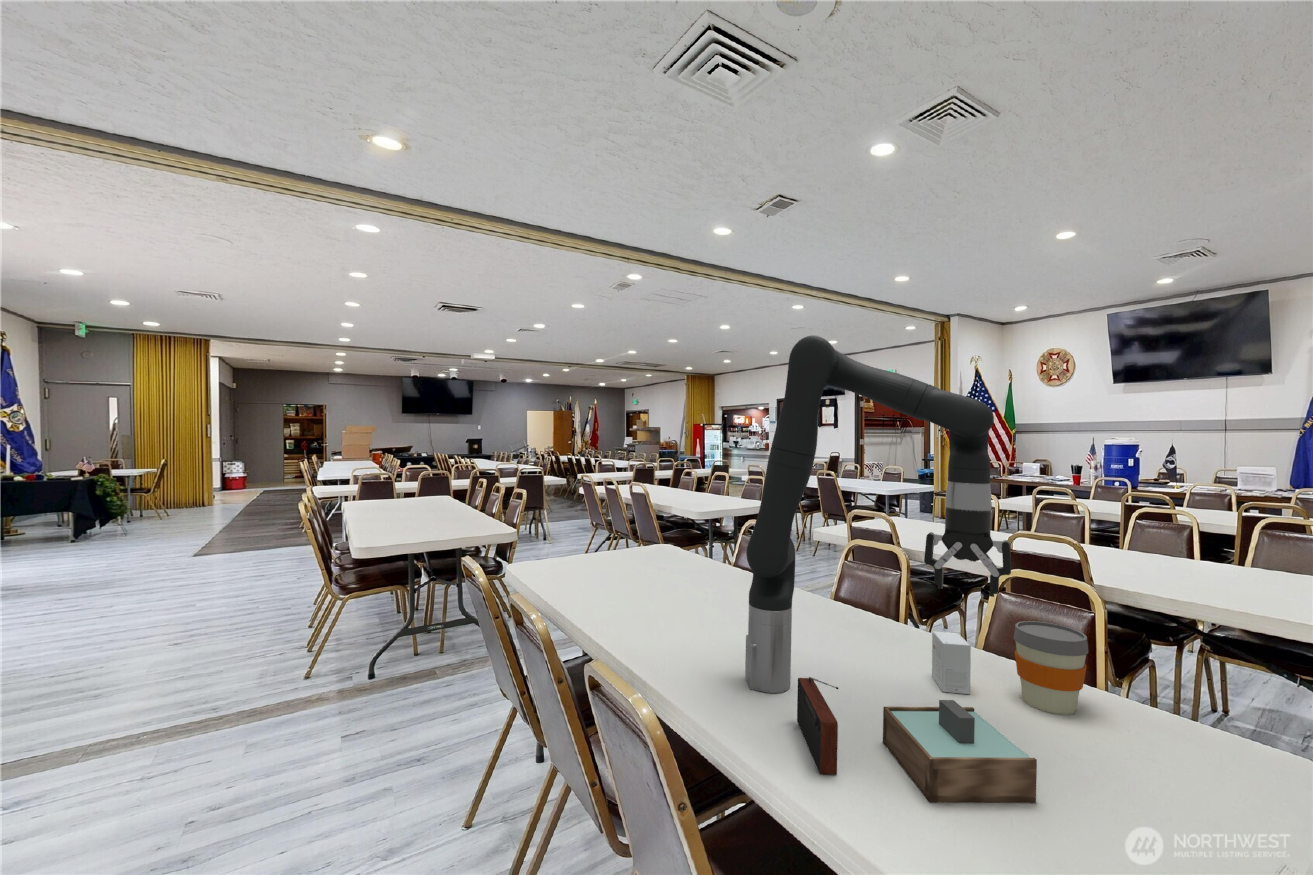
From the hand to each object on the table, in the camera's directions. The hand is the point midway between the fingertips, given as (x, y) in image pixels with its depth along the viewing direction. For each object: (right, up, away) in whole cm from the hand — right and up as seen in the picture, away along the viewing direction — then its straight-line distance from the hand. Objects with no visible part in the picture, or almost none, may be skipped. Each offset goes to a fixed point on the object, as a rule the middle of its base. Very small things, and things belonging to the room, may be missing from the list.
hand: (965, 591), depth 105 cm
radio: (-31, -25, -10) cm, 41 cm away
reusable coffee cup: (+22, -26, +9) cm, 35 cm away
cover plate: (-10, -20, -15) cm, 27 cm away
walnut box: (-10, -25, -15) cm, 31 cm away
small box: (+6, -25, +16) cm, 31 cm away
